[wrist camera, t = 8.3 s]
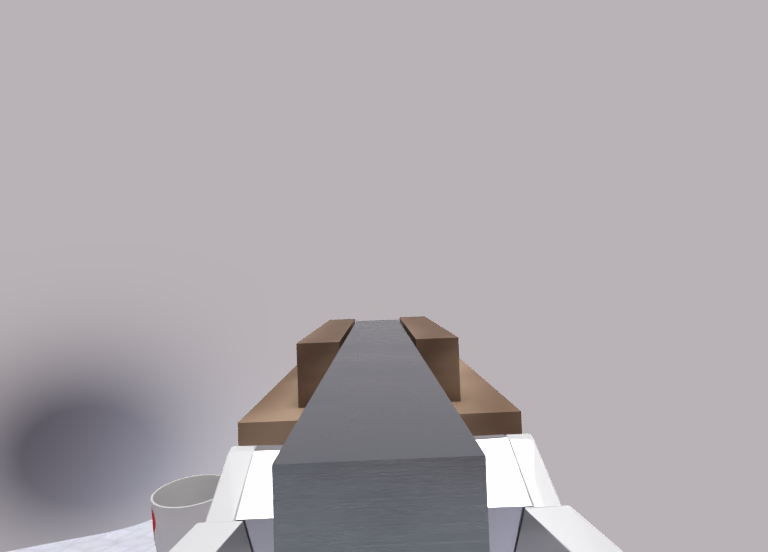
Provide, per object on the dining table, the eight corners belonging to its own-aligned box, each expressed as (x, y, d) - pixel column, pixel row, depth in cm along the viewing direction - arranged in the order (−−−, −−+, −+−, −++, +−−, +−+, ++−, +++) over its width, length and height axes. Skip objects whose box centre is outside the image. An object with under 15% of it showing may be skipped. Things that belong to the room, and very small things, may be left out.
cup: (179, 558, 53) (177, 474, 54) (245, 560, 53) (242, 474, 53) (135, 607, 45) (133, 507, 46) (212, 609, 45) (210, 508, 45)
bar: (278, 684, 6) (271, 464, 6) (357, 363, 32) (356, 321, 32) (494, 673, 6) (485, 455, 6) (399, 361, 32) (398, 319, 32)
